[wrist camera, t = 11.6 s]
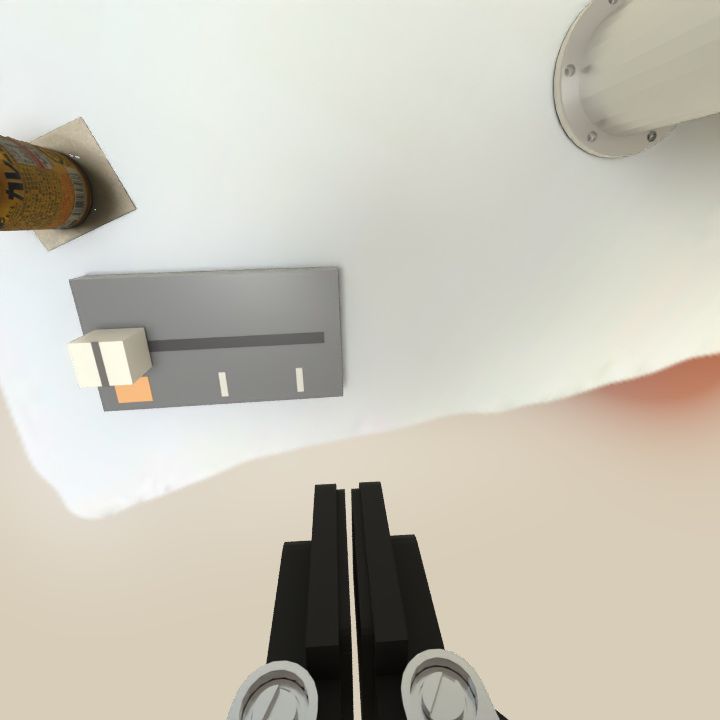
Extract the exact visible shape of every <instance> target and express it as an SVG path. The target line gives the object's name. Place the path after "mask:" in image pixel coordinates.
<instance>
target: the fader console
mask: <svg viewBox="0 0 720 720" xmlns="http://www.w3.org/2000/svg"><path fill="white" fill-rule="evenodd" d="M69 283H70V287H71V290H72V294H73V298H74V301H75V305H76V309H77V312H78V316H79V320H80V324H81V327H82V331H83V335H85V334H87V333H89V332H91V331H93V330H100V329H121V328H142V327H144V330H145V335H146V340H147V344H148V349H149V353H150V358H151V363H152V367H151V368H150V369H149V370H148V371H147V372H146V373H145V374H144V375H143V376H141V377H140V378H139V379H138V380H137V381H136V382H135V383H134V384H131V385H114V386H110V387H102V386H98V390H99V394H100V397H101V401H102V405H103V409H104V411H119V410H135V409H150V408H166V407H181V406H197V405H213V404H228V403H244V402H260V401H275V400H291V399H306V398H322V397H338V396H343V381H342V357H341V333H340V309H339V285H338V269H337V267H311V268H283V269H255V270H228V271H200V272H172V273H144V274H116V275H88V276H82V277H78V278H74V279H70V280H69Z"/></svg>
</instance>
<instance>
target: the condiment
mask: <svg viewBox="0 0 720 720" xmlns="http://www.w3.org/2000/svg"><path fill="white" fill-rule="evenodd" d="M69 154H72V155H73V156H74V157H71V156H70V155H69ZM75 155H76V156H79V157H80V159H78V158H76V157H75ZM94 209H96V211H95V210H94ZM134 209H135V207H134V205H133V204H132V202H131V200H130V198H129V196H128V194H127V193H126V191H125V189H124V188H123V186H122V184H121V183H120V181H119V179H118V177H117V176H116V174H115V172H114V171H113V169H112V167H111V166H110V164H109V162H108V161H107V158H106V157H105V155H104V154H103V152H102V151H101V149H100V148H99V146H98V144H97V143H96V141H95V139H94V137H93V136H92V134H91V133H90V131H89V129H88V128H87V126H86V124H85V123H84V121H83V119H82V118H81V117H80V118H77V119H76V120H73V121H71V122H69V123H67V124H66V125H63V126H61V127H59V128H57V129H55V130H53V131H51V132H49V133H47V134H45V135H43V136H41V137H39V138H37V139H35V140H34V141H32V142H30V143H27V142H23V141H18V140H15V139H12V138H10V137H3V136H1V135H0V231H17V230H33V231H34V232H35V234H36V235H37V237H38V238H39V240H40V241H41V243H42V244H43V245H44V247H45V248H46V249H47V251H49V250H51V249H53V248H55V247H58V246H60V245H62V244H64V243H66V242H68V241H70V240H72V239H75V238H77V237H79V236H81V235H83V234H85V233H87V232H89V231H91V230H93V229H95V228H97V227H99V226H101V225H103V224H105V223H107V222H110V221H112V220H114V219H116V218H118V217H120V216H122V215H124V214H126V213H128V212H130V211H132V210H134Z"/></svg>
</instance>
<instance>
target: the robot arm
mask: <svg viewBox="0 0 720 720" xmlns="http://www.w3.org/2000/svg"><path fill="white" fill-rule="evenodd" d="M565 72H566V74H565ZM554 98H555V104H556V111H557V113H558V116H559V119H560V122H561V125H562V126H563V128H564V130H565V131H566V133H567V135H568V136H569V137H570V139H571V140H572V141H573V142H574V143H575V144H576V145H577V146H578V147H580V148H581V149H583V150H584V151H586V152H587V153H590V154H593V155H596V156H599V157H607V158H615V157H623V156H628V155H632V154H636V153H639V152H641V151H643V150H645V149H648V148H650V147H651V146H653V145H654V144H656V143H657V142H659V141H660V140H662V139H663V138H664V137H665V136H666V135H667V134H668V133H669V132H671V131H672V130H673V129H674V128H675V126H676V125H677V124H678V123H681V122H685V121H689V120H692V119H696V118H700V117H704V116H708V115H712V114H715V113H719V112H720V0H592V1H591V2H590V3H589V4H588V5H587V6H586V8H585V9H584V10H583V11H582V12H581V13H580V14H579V16H578V17H577V19H576V20H575V21H574V23H573V24H572V26H571V27H570V29H569V31H568V33H567V35H566V37H565V39H564V41H563V44H562V46H561V50H560V53H559V56H558V59H557V63H556V70H555V76H554ZM587 138H588V139H587ZM351 496H352V497H351V501H352V543H353V544H352V545H353V580H354V597H355V614H356V631H357V647H358V648H357V649H358V664H359V682H360V699H361V717H362V720H508V719H507V718H505V717H504V716H503V715H501V714H500V713H499V712H498V711H496V710H495V709H494V707H493V704H492V702H491V700H490V698H489V695H488V693H487V691H486V689H485V687H484V685H483V682H482V681H481V679H480V677H479V676H478V674H477V672H476V671H475V670H474V668H473V667H472V666H471V665H470V664H469V663H468V662H467V661H466V660H465V659H464V658H462V657H460V656H458V655H457V654H455V653H453V652H450V651H447V650H445V649H444V645H443V641H442V637H441V633H440V629H439V625H438V622H437V618H436V614H435V610H434V606H433V602H432V598H431V594H430V590H429V586H428V582H427V579H426V575H425V571H424V567H423V563H422V559H421V555H420V551H419V548H418V543H417V540H416V537H415V535H414V534H413V535H398V536H397V535H396V536H390V533H389V528H388V522H387V516H386V510H385V505H384V499H383V493H382V488H381V483H380V482H362V483H359V489H351ZM346 531H347V530H346V509H345V489H340V490H336V484H323V485H315V494H314V511H313V527H312V541H296V542H285V543H284V545H283V551H282V558H281V565H280V572H279V579H278V586H277V593H276V600H275V607H274V614H273V621H272V628H271V635H270V642H269V649H268V656H267V663H266V665H264V666H261V667H260V668H258V669H257V670H256V671H254V672H253V673H252V674H250V675H249V676H248V678H247V679H246V680H245V681H244V683H243V684H242V685H241V686H240V688H239V690H238V692H237V694H236V696H235V698H234V700H233V702H232V705H231V708H230V711H229V714H228V717H227V720H354V715H353V675H352V641H351V616H350V598H349V597H350V595H349V575H348V551H347V532H346Z"/></svg>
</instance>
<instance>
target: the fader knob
mask: <svg viewBox="0 0 720 720" xmlns="http://www.w3.org/2000/svg"><path fill="white" fill-rule="evenodd" d="M67 346H68V349H69V353H70V356H71V360H72V363H73V367H74V370H75V374H76V377H77V381H78V384H79V388H80V387H97V386H102V387H110V386H114V385H131V384H134V383H135V382H136V381H137V380H138V379H139V378H140V377H141V376H143V375H144V374H145V373H146V372H147V371H148V370H149V369H150V368H151V367H152V363H151V358H150V353H149V349H148V344H147V340H146V335H145V330H144V327H142V328H121V329H100V330H93V331H91V332H89V333H87V334H85V335H83V336H81V337H79V338H77V339H75V340H73V341H71V342H69V343H67Z"/></svg>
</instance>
